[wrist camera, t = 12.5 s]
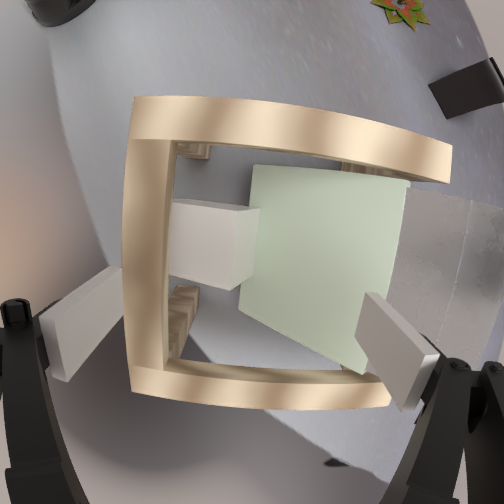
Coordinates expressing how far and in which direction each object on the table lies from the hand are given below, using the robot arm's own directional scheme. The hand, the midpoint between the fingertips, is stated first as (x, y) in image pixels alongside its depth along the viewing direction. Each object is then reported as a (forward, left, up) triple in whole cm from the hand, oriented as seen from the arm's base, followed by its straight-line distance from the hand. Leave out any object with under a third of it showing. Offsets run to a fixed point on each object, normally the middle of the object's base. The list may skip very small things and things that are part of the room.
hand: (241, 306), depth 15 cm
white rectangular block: (0, 0, -13) cm, 13 cm away
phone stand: (+30, +26, -24) cm, 47 cm away
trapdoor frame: (+3, 0, -24) cm, 24 cm away
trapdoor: (+13, 0, -12) cm, 17 cm away
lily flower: (+20, +40, -25) cm, 52 cm away
